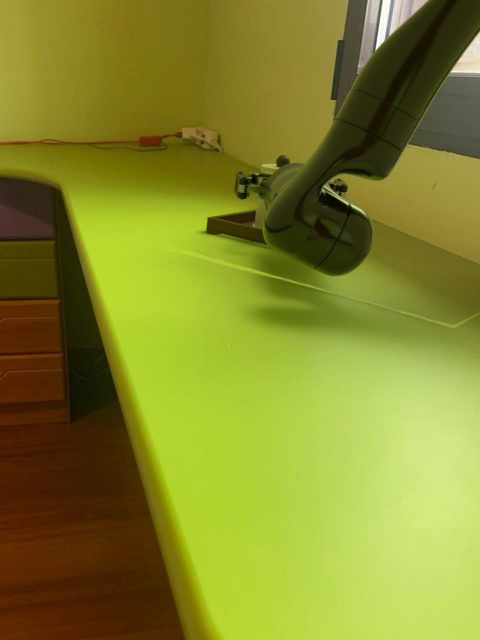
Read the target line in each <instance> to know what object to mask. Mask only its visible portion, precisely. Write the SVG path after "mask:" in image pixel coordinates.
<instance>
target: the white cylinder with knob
mask: <svg viewBox="0 0 480 640" xmlns="http://www.w3.org/2000/svg"><path fill="white" fill-rule="evenodd" d="M290 163H291V159H290V158H289V156H288V155H286V154H281V155H279V156H278V157H277V158H276V159H275V163H263V164H261V167H260V172H272V173H274V172H275V171H276V170H277V169H279V168H280V167H282V166H284V165H286V164H290ZM266 211H267V210H266V207H265V203H264V200H260V199H258V198H257V201H256V216H255V224H253V225H252V227H256V228H260V229H263V220H264V216H265V213H266Z"/></svg>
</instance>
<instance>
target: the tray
mask: <svg viewBox="0 0 480 640" xmlns="http://www.w3.org/2000/svg"><path fill="white" fill-rule="evenodd" d="M255 216H256V209H248V210H243V211H237V212H231V213H225V214H219V215H214V216H207V219H206V229H205V232H206V233H208V234H212V235H221V234H223V235H225V236H226V235H227V236H230V237H234V238H238V239H243V240H247V241H250V242H254V243H258V244H262V245H266V246H268V244H267V243H266V242H265V239H264V236H263V229H260V228H256V227H252V225H253V224H255Z"/></svg>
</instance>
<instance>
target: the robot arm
mask: <svg viewBox="0 0 480 640" xmlns="http://www.w3.org/2000/svg"><path fill="white" fill-rule="evenodd" d="M479 34H480V0H426V1H425V3H424V4H422V5H421V6H420V7H419V8H418V9H417V10H416V11H415V12H414V13H412V14H411V16H409V17H408V18H407V19H406V20H405V21H404V22H403V23H402V24H401V25H399V26H398V27H397V28H396V29H395V30H394V31H393V32H392V33H391V34H390V35H389V36H388V37H387V38H386V39H385V40H384V41H383V42H381V43H380V45H379V46H378V47H377V48H376V49H375V50H374V52H373V53H372V54H371V55H370V56H369V58H368V59H367V61H366V62H365V63H364V65H363V66H362V68H361V70H360V71H359V73H358V74H357V76H356V78H355V80H354V82H353V84H352V85H351V87H350V90H348V91H349V92H348V93H347V95H346V97H345V98H344V101H343V103H342V105H341V106H340V109H339V111H338V112H337V114H336V116H335V119H334V120H333V122H332V124H331V126H330V128H329V129H328V131H327V133H326V134H325V136H324V137H323V139H322V141H321V142H320V143H319V145H318V146H317V148H316V150H315V151H314V152H313V153H312V155H311V156H310V157H309V158H308V160H307V161H305V163H304V162H290V164H286V165H284V166H282V167H280V168H279V169H277V170H276V171H275V172H274V173H272V172H261V171H260V172H259V170H257V169H253V170H252V171H251V172H248V173H245V172H243V171H236V172H235V181H234V188H233V193H234V194H235V196H236V198H237V199H239V200H243V201H244V200H247V199H248V198H250V197H251V194H252V195H255V196H256V198H257V199H260V200H264V203H265V207H266V210H267V211H266V213H265V216H264V220H263V236H264V239H265V242H266V243H267V244H268V245H267V246H268V247H270V248H271V249H272V250H274V251H275V252H278V253H279V254H282V255H283V256H286V257H288V258H290V259H292V260H294V261H296V262H298V263H300V264H302V265H304V266H306V267H308V268H310V269H312V270H314V271H316V272H318V273H320V274H323V275H326V276H329V277H343V276H346V275H348V274H350V273H352V272H354V271H356V269H358V268H359V267H360V266H361V265H362V264H363V263H364V262H365V260H366V259H367V257H368V256H369V255H370V252H371V250H372V246H373V243H374V239H375V226H374V222H373V220H372V217H371V215H370V213H369V212H368V211H367V210H366V209H365V208H363V207H361V206H360V205H358V204H356V203H354V202H352V201H350V200H348V199H347V195H348V188H349V185H348V184H347V182H346V181H345V180H344V179H341V178H337V179H336V178H335V177H337V176H341V175H348V176H353V177H358V178H360V179H365V180H368V181H374V182H375V181H376V182H379V181H383V180H385V179H386V178H388V177H389V176H390V175H391V173H392V172H393V171H394V169H395V167H396V166H397V164H398V163H399V161H400V159H401V157H402V155H403V153H404V152H405V150H406V149H407V147H408V145H409V143H410V142H411V139H412V138H413V136H414V134H415V132H416V131H417V129H418V127H419V126H420V124H421V122H422V121H423V118H424V117H425V115H426V113H427V112H428V110H429V108H430V106H431V104H432V102H433V101H434V100H435V98H436V96H437V95H438V93H439V91H440V89H441V88H442V86H443V84H444V83H445V82H446V80H447V78H448V77H449V76H450V74H451V72H452V71H453V69H454V68H455V67H456V65H458V62H459V61H460V60H461V58H462V57H463V55H464V54H465V53H466V51H467V50H468V49H469V48H470V46H471V45H472V43H473V42H474V41H475V40H476V38H477V37H478V35H479ZM333 178H334V181H333V182H331V180H332V179H333Z"/></svg>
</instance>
